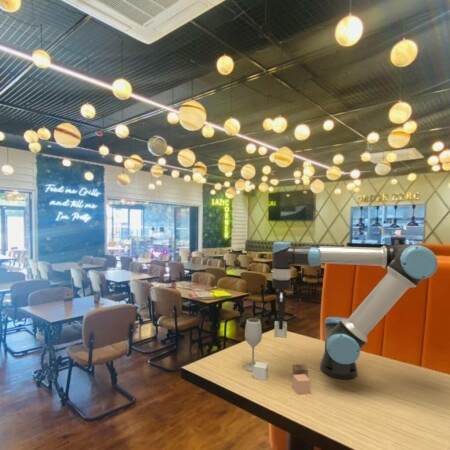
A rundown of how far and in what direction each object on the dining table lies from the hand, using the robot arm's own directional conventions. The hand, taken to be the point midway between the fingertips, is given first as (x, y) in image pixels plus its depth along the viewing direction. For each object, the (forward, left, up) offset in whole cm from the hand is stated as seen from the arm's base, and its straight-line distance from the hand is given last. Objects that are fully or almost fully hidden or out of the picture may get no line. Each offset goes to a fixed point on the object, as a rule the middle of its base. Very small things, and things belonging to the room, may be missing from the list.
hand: (280, 334), depth 127 cm
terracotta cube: (-8, +9, -18) cm, 22 cm away
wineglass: (+12, -6, -18) cm, 22 cm away
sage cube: (0, 0, 0) cm, 0 cm away
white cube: (+8, +1, -18) cm, 20 cm away
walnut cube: (-8, 0, -18) cm, 20 cm away
